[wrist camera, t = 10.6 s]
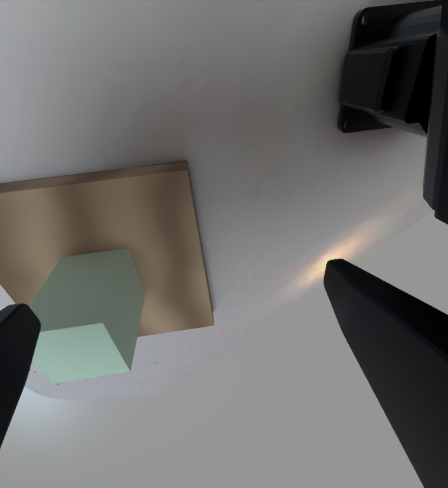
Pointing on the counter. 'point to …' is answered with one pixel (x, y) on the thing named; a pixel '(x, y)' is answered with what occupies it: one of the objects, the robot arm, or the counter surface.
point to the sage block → (88, 316)
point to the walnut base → (111, 237)
